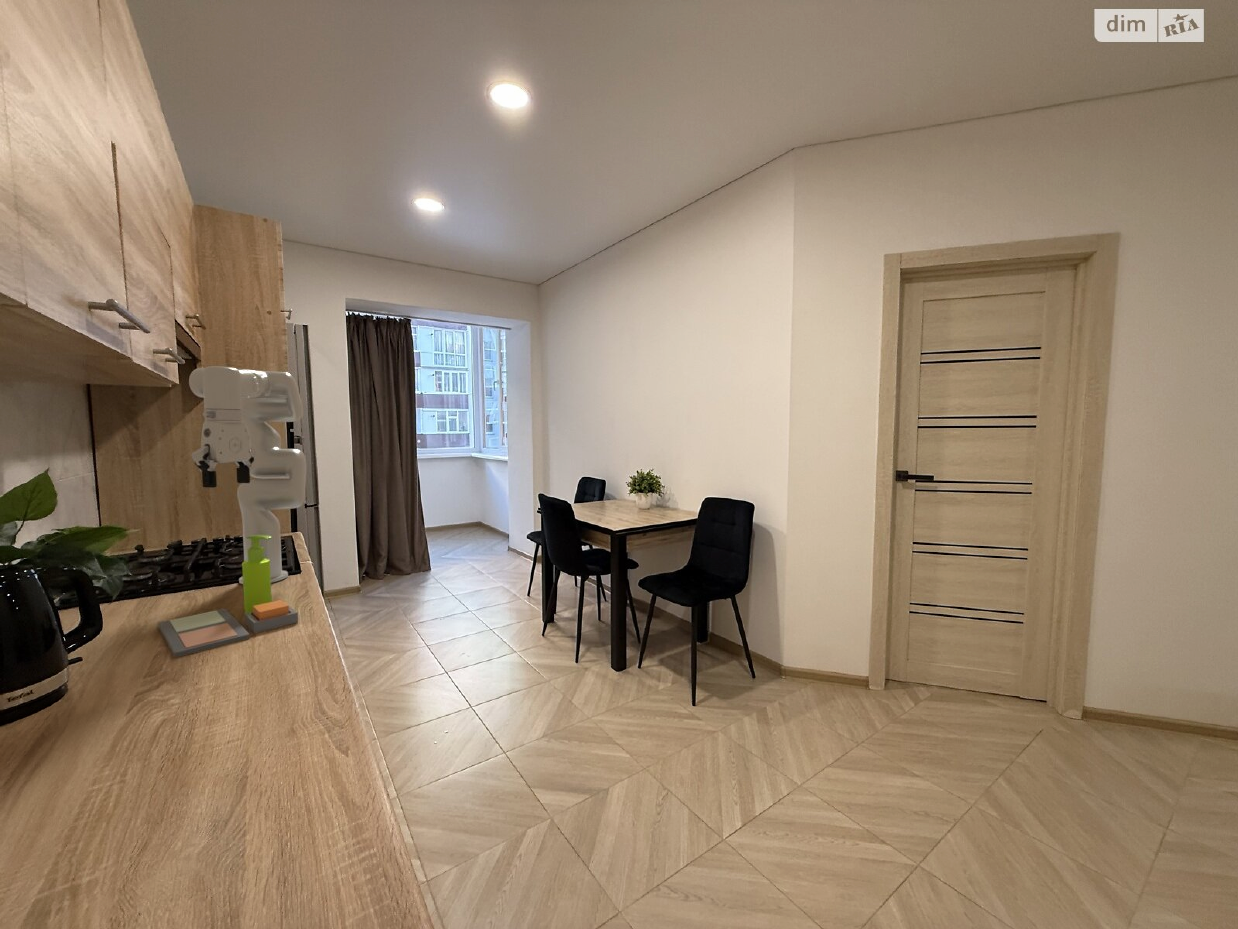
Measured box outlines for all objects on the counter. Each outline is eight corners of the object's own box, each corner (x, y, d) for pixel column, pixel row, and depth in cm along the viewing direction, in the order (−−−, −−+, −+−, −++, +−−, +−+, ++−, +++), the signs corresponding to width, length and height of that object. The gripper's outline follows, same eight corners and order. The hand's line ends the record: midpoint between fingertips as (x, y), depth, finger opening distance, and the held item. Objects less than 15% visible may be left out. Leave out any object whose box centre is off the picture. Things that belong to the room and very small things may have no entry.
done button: (253, 614, 125) (252, 606, 124) (281, 607, 129) (281, 599, 129) (259, 620, 121) (259, 612, 120) (288, 613, 125) (288, 605, 125)
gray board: (158, 626, 122) (158, 621, 122) (225, 611, 132) (225, 607, 132) (174, 657, 106) (174, 652, 106) (249, 638, 116) (249, 633, 116)
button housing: (244, 623, 125) (244, 613, 124) (286, 613, 131) (286, 603, 131) (254, 633, 119) (254, 623, 118) (298, 622, 125) (297, 612, 125)
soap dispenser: (265, 614, 130) (261, 538, 129) (238, 614, 130) (235, 537, 129) (280, 606, 136) (277, 533, 135) (255, 605, 136) (252, 532, 135)
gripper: (205, 416, 117) (209, 489, 118) (265, 417, 134) (268, 481, 135) (176, 416, 118) (180, 488, 119) (239, 417, 135) (242, 481, 136)
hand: (227, 485), depth 127 cm, fingers open, 9 cm apart
